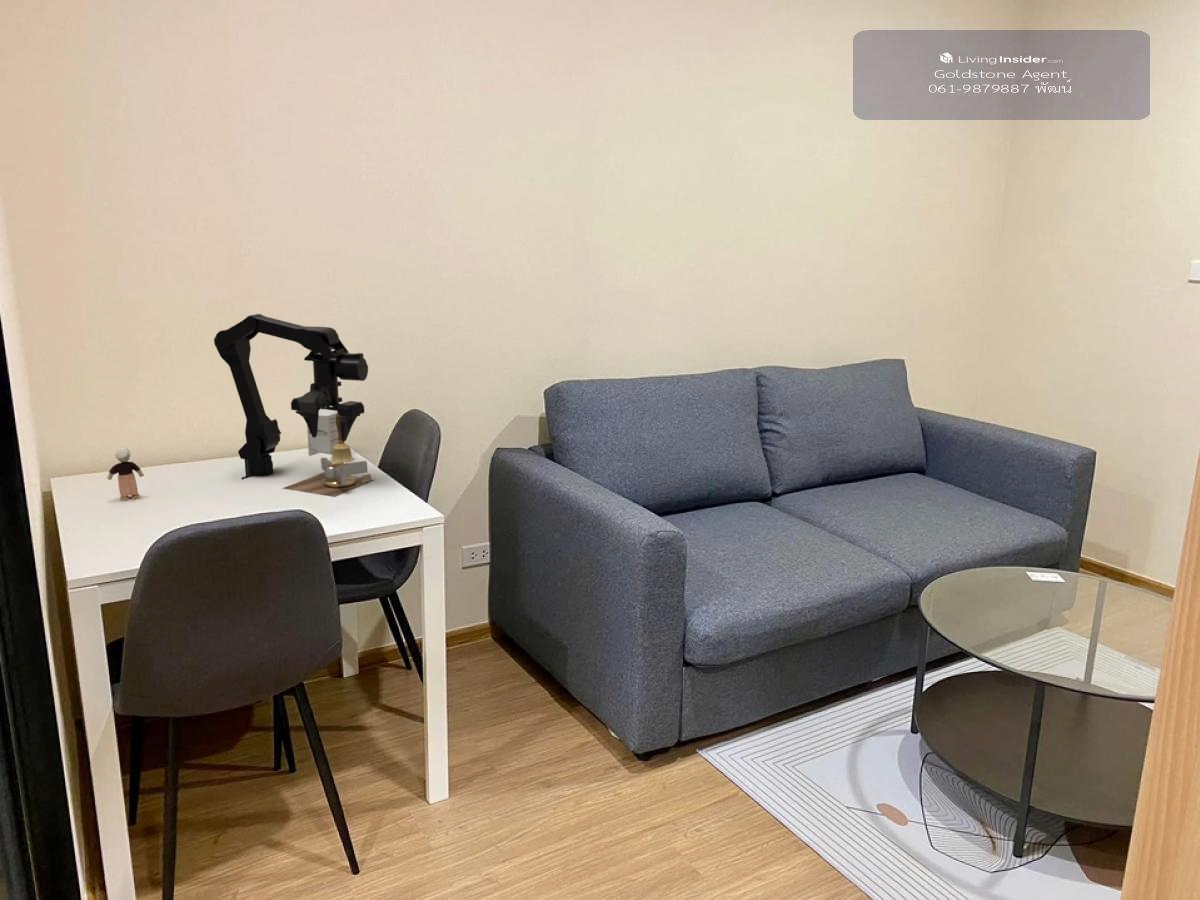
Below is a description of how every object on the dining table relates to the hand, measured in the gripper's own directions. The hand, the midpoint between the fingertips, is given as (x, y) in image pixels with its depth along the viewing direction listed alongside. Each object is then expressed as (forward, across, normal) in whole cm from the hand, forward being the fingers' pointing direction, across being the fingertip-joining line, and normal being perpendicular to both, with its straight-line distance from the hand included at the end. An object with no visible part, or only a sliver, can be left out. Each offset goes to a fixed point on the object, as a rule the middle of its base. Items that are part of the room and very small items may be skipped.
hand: (329, 439), depth 235 cm
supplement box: (+12, -20, +23) cm, 33 cm away
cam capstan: (+10, +6, -2) cm, 12 cm away
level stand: (+12, +2, -4) cm, 13 cm away
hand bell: (+12, -9, +16) cm, 22 cm away
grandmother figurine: (+12, -36, -31) cm, 49 cm away
